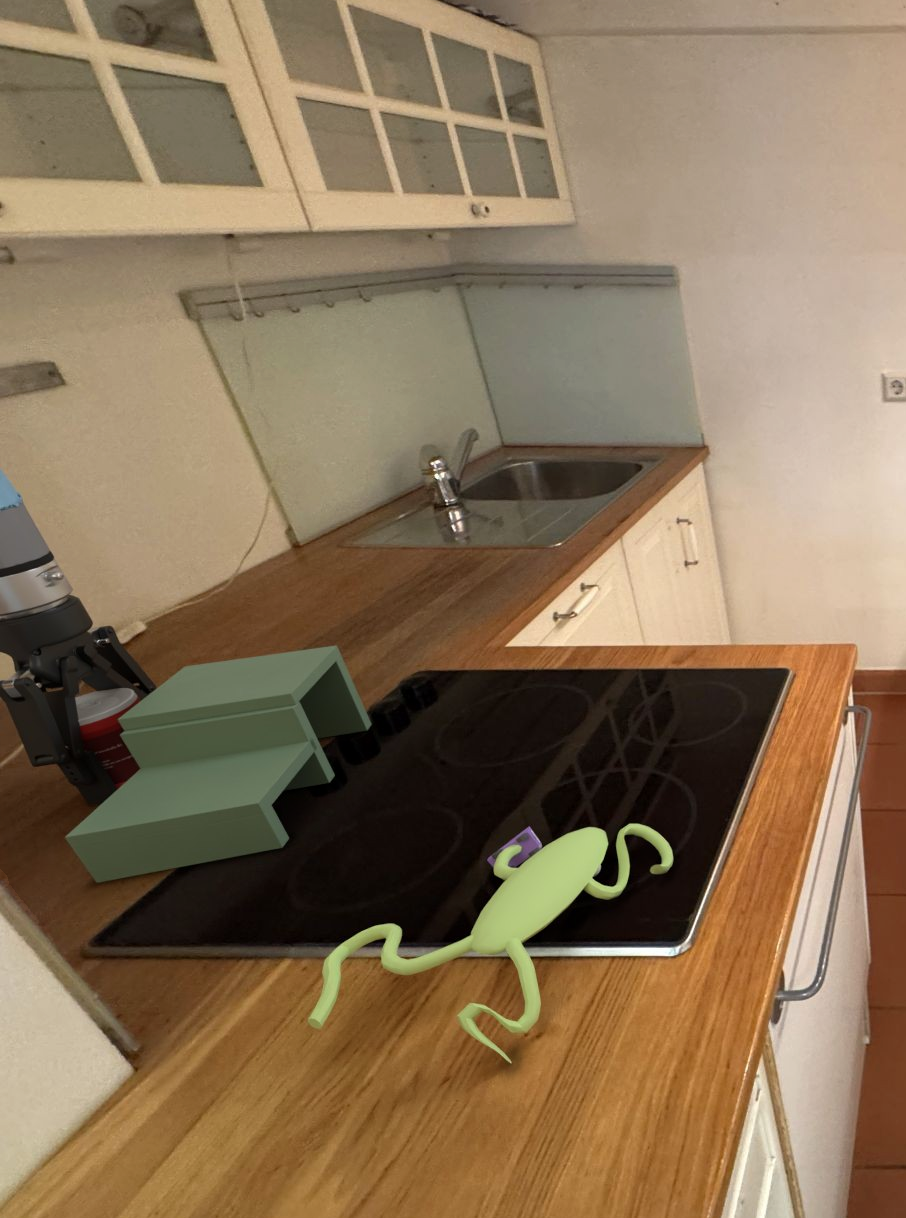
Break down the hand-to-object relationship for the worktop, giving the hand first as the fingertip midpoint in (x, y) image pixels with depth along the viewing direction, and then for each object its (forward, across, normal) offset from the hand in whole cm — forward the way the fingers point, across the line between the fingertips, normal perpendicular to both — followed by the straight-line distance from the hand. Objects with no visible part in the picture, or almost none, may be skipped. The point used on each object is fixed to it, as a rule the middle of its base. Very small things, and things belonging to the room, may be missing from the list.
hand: (132, 776), depth 91 cm
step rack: (+1, -7, -15) cm, 17 cm away
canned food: (+1, 0, 0) cm, 1 cm away
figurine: (+1, -40, -50) cm, 64 cm away
